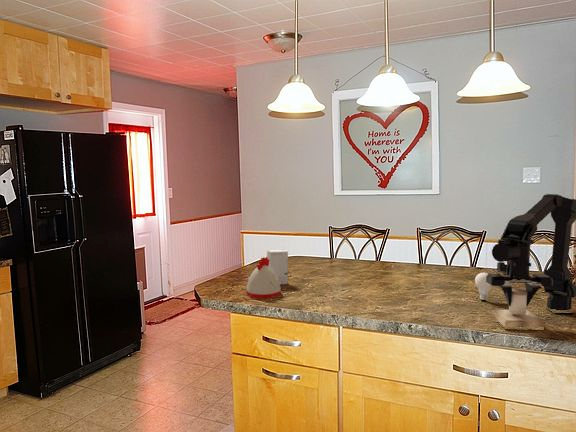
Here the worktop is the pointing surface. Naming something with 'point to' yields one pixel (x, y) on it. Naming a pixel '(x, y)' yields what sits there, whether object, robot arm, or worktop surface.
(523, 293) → the spice tin
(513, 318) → the block
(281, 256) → the skincare box
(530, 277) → the robot arm
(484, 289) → the lightbulb
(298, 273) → the worktop surface
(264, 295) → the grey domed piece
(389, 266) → the worktop surface
